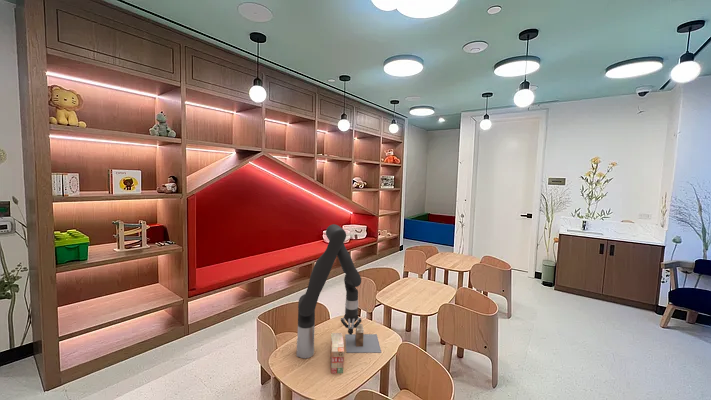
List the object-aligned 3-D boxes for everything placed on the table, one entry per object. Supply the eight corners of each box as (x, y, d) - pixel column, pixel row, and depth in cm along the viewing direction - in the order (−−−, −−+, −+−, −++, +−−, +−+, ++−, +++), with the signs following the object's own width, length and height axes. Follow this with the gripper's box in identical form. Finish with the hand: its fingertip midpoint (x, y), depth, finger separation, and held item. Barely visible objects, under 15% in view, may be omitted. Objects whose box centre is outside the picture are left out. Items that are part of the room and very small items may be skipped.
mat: (346, 353, 164) (346, 352, 164) (345, 334, 182) (345, 334, 182) (381, 352, 165) (381, 352, 165) (376, 334, 183) (376, 334, 183)
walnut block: (356, 346, 170) (356, 330, 169) (355, 339, 177) (356, 323, 175) (362, 346, 170) (363, 330, 169) (361, 339, 177) (362, 323, 176)
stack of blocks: (330, 347, 168) (331, 327, 167) (341, 347, 169) (342, 327, 167) (331, 373, 147) (331, 351, 146) (343, 373, 147) (344, 350, 146)
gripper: (340, 309, 166) (339, 337, 168) (363, 309, 167) (362, 337, 169) (340, 303, 174) (339, 330, 175) (362, 303, 175) (360, 330, 177)
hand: (350, 333), depth 172 cm, fingers closed
